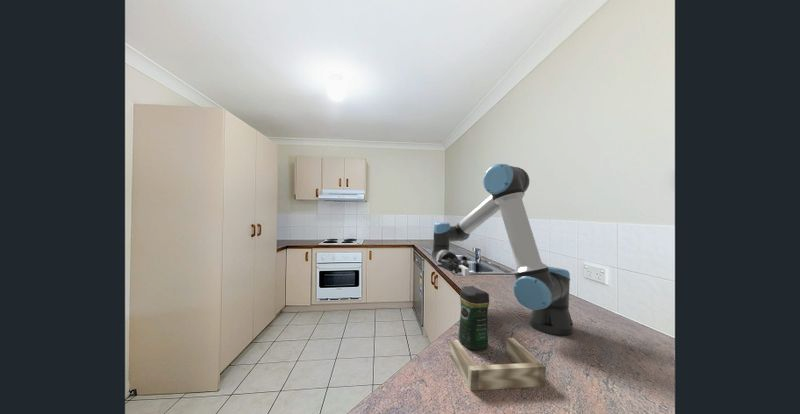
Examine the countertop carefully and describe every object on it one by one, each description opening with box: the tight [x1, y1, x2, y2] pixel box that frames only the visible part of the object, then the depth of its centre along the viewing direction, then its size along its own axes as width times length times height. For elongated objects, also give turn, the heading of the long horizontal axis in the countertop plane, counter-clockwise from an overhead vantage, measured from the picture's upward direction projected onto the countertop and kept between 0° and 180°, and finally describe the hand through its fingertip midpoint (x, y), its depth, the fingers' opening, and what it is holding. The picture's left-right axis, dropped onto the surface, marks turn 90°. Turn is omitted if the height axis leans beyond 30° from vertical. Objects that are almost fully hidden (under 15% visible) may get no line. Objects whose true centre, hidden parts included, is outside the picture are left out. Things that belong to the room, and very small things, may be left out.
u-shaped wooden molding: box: [449, 337, 547, 392], centre depth 80 cm, size 20×16×5 cm
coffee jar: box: [458, 285, 490, 351], centre depth 95 cm, size 10×8×19 cm
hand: (466, 272), depth 102 cm, fingers closed
